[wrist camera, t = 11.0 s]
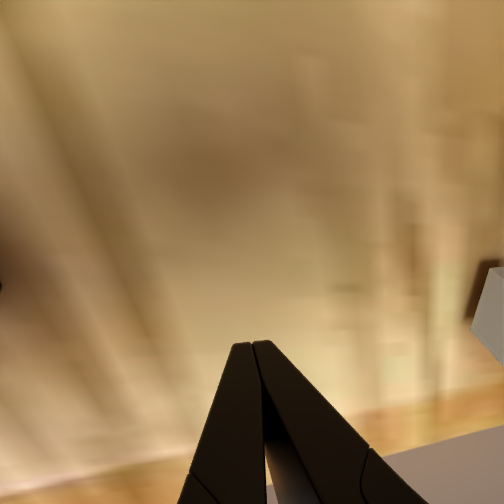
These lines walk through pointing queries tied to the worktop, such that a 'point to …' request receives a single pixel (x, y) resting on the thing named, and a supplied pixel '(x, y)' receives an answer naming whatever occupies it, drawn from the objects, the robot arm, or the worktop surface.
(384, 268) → the worktop surface
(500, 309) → the light gray button
